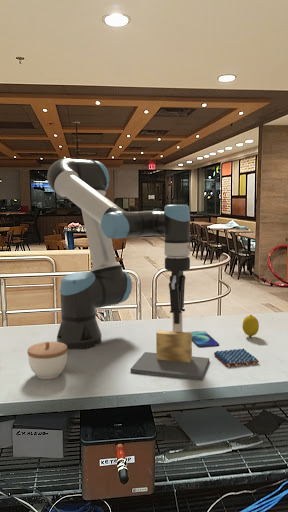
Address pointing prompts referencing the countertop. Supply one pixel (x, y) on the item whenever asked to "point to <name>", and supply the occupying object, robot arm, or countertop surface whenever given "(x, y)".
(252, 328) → the lemon
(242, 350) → the woven mat
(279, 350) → the countertop surface
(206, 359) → the mat
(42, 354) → the lidded jar
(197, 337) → the smartphone
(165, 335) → the block
